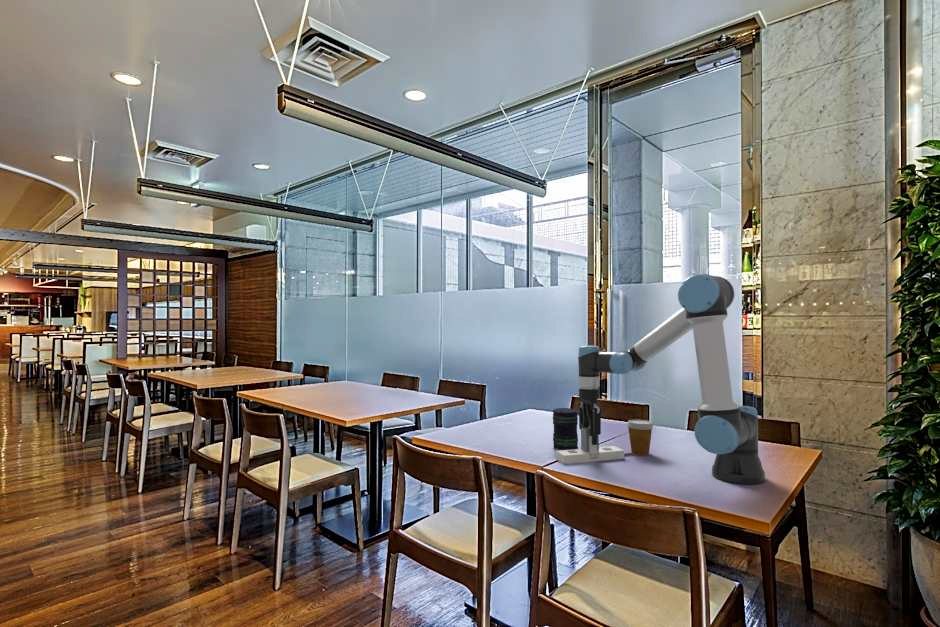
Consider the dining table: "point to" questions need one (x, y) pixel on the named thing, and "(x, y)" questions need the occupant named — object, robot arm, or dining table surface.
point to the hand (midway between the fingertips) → (590, 451)
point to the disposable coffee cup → (640, 436)
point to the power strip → (584, 456)
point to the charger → (587, 439)
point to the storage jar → (565, 429)
